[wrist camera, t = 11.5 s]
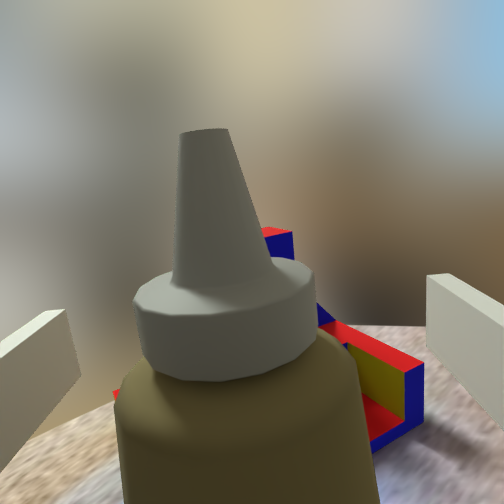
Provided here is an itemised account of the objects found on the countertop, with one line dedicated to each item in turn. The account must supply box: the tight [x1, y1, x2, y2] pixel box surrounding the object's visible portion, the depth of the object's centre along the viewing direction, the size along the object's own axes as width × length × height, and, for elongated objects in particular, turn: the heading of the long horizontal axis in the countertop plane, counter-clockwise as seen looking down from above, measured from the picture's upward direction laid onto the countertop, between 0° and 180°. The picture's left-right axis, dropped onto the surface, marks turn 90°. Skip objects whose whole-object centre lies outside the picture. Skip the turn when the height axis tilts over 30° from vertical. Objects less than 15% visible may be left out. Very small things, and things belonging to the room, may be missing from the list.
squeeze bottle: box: [114, 129, 380, 504], centre depth 11 cm, size 8×8×18 cm
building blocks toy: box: [113, 227, 424, 454], centre depth 35 cm, size 19×25×18 cm
